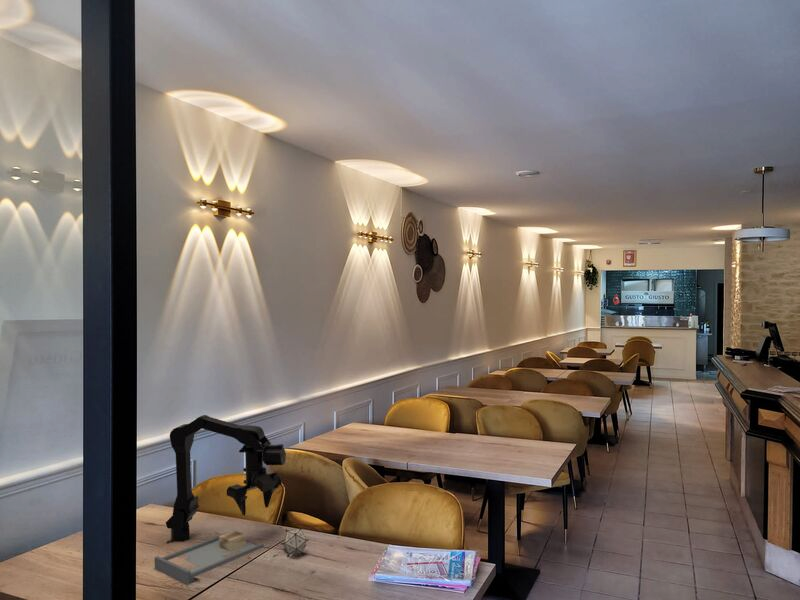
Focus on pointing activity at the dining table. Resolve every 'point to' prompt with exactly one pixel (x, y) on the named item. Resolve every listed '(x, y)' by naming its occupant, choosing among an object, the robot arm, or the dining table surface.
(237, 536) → the maple block
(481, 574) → the dining table surface
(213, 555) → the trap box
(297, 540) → the wire geodesic ornament
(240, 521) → the dining table surface
